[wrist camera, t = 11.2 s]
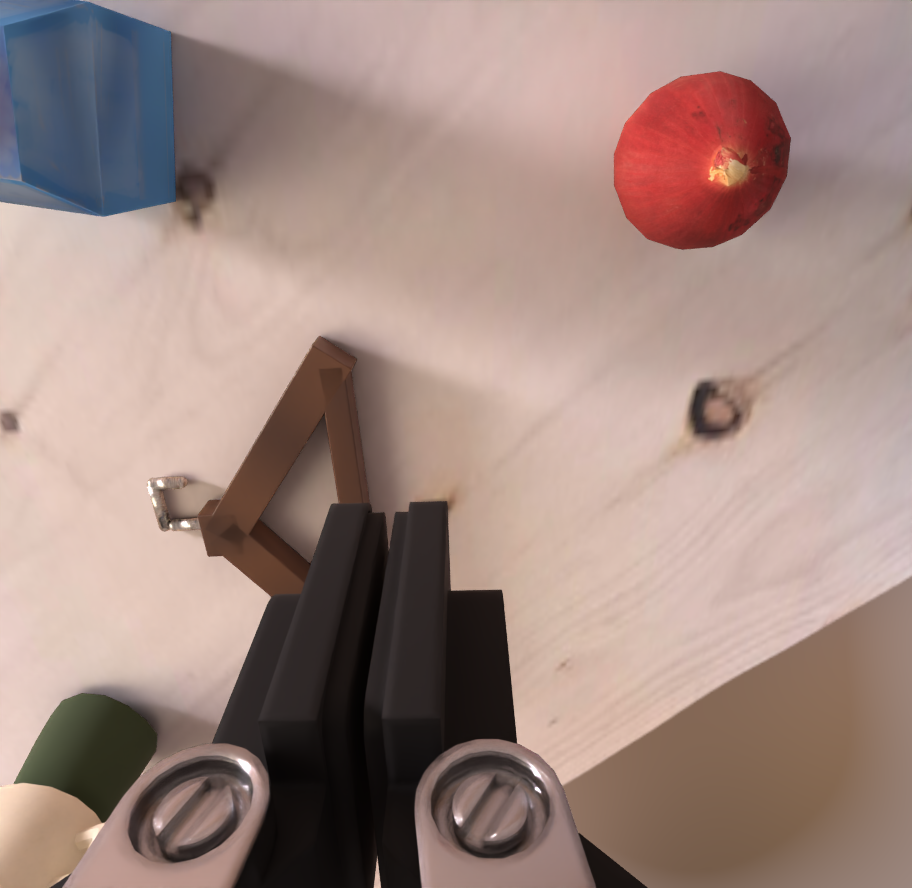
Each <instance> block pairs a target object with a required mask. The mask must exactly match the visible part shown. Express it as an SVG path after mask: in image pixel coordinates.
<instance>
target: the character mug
mask: <svg viewBox="0 0 912 888" xmlns="http://www.w3.org/2000/svg"><path fill="white" fill-rule="evenodd" d="M156 747H157V733H156V732H155V731H154V729H153V728H152V727H151V725H150V724H149V723H148V722H147V720H145V719H144V718H143V717H142V716H140V715H139V714H138V713H137V712H135V711H134V710H133V709H132V708H130V707H129V706H128V705H125V704H123V703H121V702H119V701H117V700H114V699H112V698H110V697H108V696H105V695H96V694H85V693H81V694H79V695H76V696H73V697H71V698H68V699H65V700H63V701H62V702H61V703H60V705H59V706H58V707H57V708H56V710H55V711H54V712H53V714H52V715H51V716H50V718H49V720H48V721H47V723H46V725H45V726H44V728H43V730H42V732H41V733H40V735H39V737H38V738H37V740H36V742H35V744H34V746H33V747H32V749H31V751H30V753H29V755H28V757H27V759H26V761H25V763H24V765H23V767H22V769H21V770H20V772H19V774H18V776H17V778H16V780H15V782H14V784H12V785H5V786H0V888H50V887H51V886H53V885H54V884H56V883H57V882H59V881H60V880H62V879H63V878H65V877H66V876H68V875H69V874H71V873H72V872H73V871H74V869H75V868H76V866H77V865H78V863H79V862H80V860H81V859H82V857H83V856H84V854H85V853H86V851H87V850H88V848H89V847H90V845H91V844H92V842H93V841H94V839H95V838H96V836H97V835H98V833H99V832H100V830H101V829H102V827H103V826H104V824H105V822H106V821H107V820H108V818H109V817H110V815H111V814H112V812H113V811H114V809H115V808H116V806H117V805H118V803H119V802H120V800H121V799H122V797H123V796H124V795H125V793H126V792H127V791H128V790H129V789H130V787H131V786H132V785H133V784H134V783H135V782H136V780H137V779H138V778H139V777H140V775H141V773H142V772H143V770H144V769H145V767H146V766H147V764H148V762H149V761H150V759H151V758H152V756H153V755H154V753H155V751H156Z"/></svg>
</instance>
